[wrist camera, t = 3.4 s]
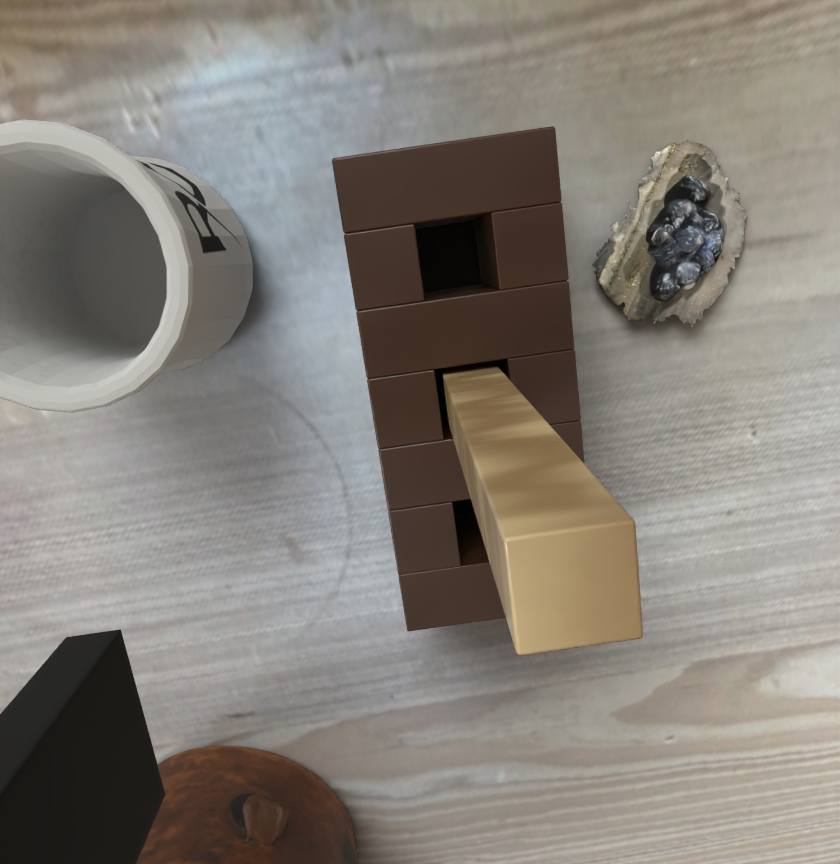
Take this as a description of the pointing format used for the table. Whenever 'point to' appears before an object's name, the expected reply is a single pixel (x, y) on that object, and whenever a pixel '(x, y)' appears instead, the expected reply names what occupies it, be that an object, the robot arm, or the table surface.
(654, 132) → the table surface
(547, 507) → the stick
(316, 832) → the case
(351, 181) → the holder
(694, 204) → the mineral rock specimen
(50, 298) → the mug
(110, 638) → the robot arm
